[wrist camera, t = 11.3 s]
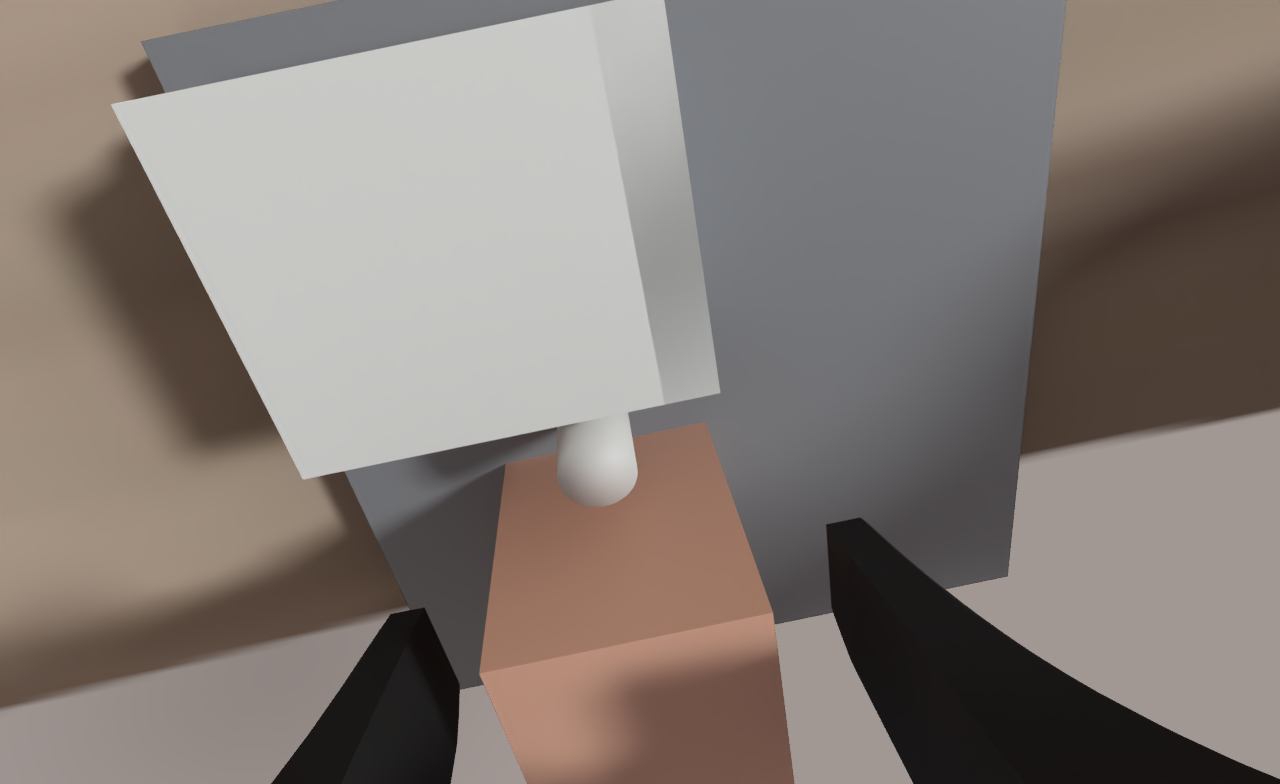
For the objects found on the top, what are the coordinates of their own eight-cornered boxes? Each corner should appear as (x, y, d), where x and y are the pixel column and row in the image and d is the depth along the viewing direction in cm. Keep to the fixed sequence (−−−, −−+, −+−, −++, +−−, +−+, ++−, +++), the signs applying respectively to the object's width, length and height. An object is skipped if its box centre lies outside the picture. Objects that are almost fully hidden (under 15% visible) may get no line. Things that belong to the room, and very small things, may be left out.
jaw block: (705, 421, 14) (772, 612, 9) (729, 571, 16) (794, 788, 11) (505, 463, 14) (479, 674, 9) (554, 608, 16) (551, 839, 11)
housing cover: (636, -4, 10) (663, -10, 7) (687, 313, 12) (720, 393, 10) (228, 81, 10) (111, 104, 7) (357, 381, 12) (303, 480, 10)
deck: (1040, -140, 11) (1271, -216, 7) (985, 548, 17) (1091, 681, 14) (175, 39, 11) (-14, 50, 7) (454, 657, 17) (427, 819, 14)
